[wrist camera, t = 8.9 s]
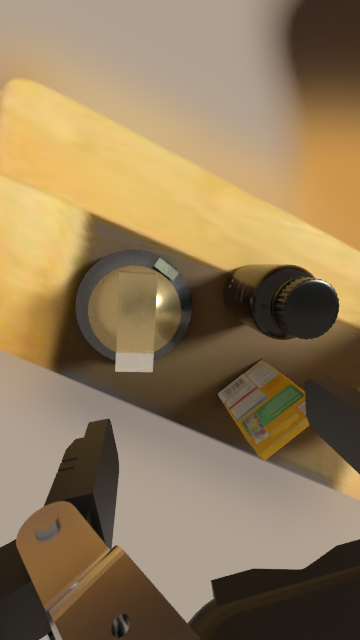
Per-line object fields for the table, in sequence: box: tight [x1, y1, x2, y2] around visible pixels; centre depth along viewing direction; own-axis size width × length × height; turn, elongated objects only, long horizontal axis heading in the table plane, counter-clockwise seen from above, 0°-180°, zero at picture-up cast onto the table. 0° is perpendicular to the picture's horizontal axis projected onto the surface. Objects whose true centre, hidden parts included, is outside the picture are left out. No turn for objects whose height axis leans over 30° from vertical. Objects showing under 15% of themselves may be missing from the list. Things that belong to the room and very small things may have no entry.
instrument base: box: [75, 250, 192, 361], centre depth 29 cm, size 12×12×3 cm
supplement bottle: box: [224, 265, 339, 340], centre depth 27 cm, size 7×7×12 cm
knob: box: [88, 266, 181, 372], centre depth 25 cm, size 9×9×7 cm
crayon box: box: [218, 359, 309, 461], centre depth 30 cm, size 7×3×12 cm, turn 127°
